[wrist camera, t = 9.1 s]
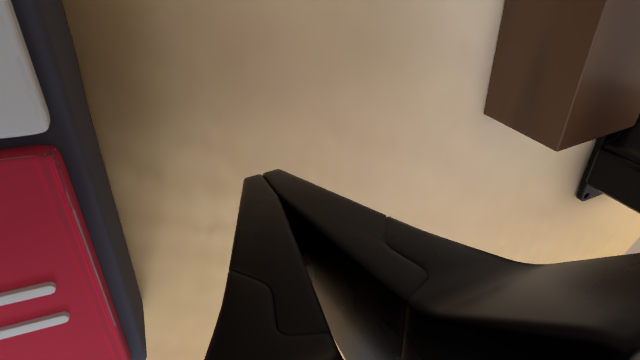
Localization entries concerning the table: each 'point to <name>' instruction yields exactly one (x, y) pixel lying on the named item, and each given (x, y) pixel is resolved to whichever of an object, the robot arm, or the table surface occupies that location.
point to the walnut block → (567, 69)
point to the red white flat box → (57, 205)
